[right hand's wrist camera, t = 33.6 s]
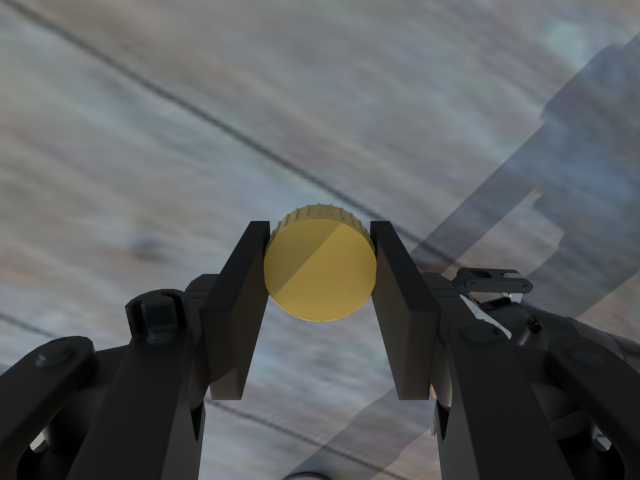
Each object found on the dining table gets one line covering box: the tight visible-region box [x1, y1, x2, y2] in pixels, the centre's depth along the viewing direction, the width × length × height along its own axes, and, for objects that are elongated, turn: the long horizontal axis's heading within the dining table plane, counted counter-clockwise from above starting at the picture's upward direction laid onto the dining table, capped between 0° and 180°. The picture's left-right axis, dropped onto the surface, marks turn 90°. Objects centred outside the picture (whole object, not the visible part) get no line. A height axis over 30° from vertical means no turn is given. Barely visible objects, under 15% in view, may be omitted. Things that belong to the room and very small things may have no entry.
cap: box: [264, 203, 377, 322], centre depth 14 cm, size 4×4×2 cm
